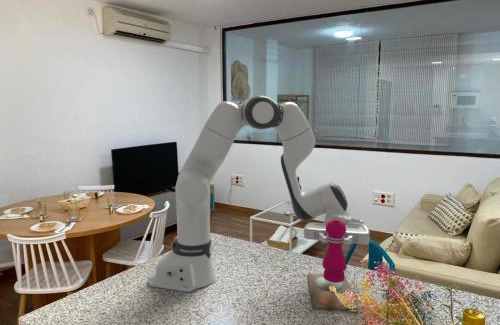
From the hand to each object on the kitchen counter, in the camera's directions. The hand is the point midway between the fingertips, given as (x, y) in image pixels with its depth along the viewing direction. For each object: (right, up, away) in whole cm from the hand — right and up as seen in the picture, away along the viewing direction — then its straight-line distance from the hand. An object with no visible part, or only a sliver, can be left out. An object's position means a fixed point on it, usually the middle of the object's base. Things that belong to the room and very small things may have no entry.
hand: (335, 242), depth 111 cm
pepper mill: (0, -12, +3) cm, 12 cm away
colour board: (+1, -19, +10) cm, 21 cm away
